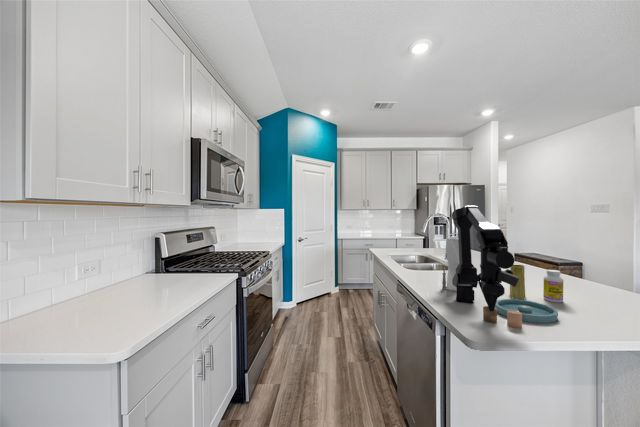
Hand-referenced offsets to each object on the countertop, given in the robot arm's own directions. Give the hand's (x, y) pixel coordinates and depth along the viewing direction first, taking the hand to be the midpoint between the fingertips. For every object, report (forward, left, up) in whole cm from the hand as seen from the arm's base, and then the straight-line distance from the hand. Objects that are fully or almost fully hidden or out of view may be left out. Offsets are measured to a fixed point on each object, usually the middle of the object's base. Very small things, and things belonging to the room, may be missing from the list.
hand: (489, 306), depth 104 cm
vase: (+15, +36, -5) cm, 39 cm away
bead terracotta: (+7, -2, -5) cm, 9 cm away
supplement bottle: (+28, +36, -5) cm, 46 cm away
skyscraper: (-11, +40, -5) cm, 42 cm away
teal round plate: (+13, +13, -5) cm, 19 cm away
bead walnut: (0, 0, -5) cm, 5 cm away
